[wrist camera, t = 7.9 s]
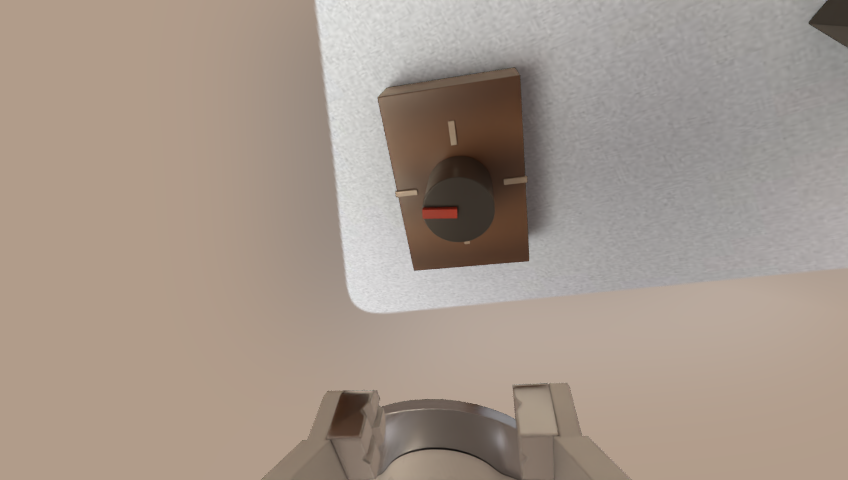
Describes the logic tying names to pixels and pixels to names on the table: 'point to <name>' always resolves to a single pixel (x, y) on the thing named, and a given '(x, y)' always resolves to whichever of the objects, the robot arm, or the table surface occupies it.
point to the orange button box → (833, 20)
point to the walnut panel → (460, 136)
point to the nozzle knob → (459, 199)
